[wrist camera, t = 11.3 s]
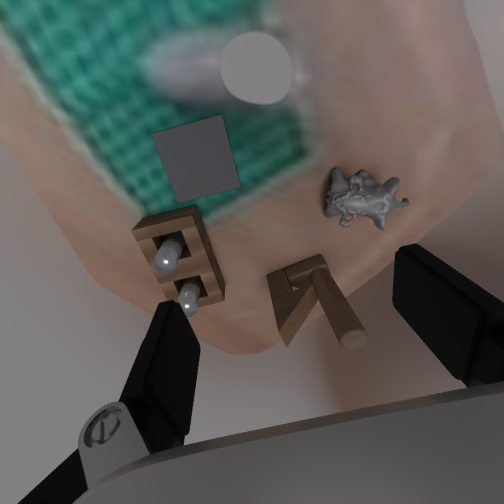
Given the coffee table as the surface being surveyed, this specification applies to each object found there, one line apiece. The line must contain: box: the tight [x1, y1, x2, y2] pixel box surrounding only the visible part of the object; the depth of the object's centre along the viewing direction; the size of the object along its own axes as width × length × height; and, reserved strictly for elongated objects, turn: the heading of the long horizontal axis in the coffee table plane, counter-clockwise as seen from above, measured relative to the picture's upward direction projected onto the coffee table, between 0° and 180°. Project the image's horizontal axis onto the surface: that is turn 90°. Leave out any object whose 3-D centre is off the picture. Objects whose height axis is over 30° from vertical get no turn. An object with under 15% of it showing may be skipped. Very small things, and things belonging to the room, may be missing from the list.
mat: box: [151, 115, 241, 203], centre depth 36 cm, size 10×10×1 cm
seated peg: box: [178, 275, 202, 317], centre depth 41 cm, size 3×3×10 cm
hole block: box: [132, 205, 225, 307], centre depth 41 cm, size 16×9×5 cm, turn 14°
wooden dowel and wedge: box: [267, 255, 368, 350], centre depth 39 cm, size 4×11×18 cm, turn 113°
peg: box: [153, 230, 186, 274], centre depth 37 cm, size 3×3×10 cm
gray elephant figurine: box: [323, 168, 409, 230], centre depth 37 cm, size 9×12×8 cm
